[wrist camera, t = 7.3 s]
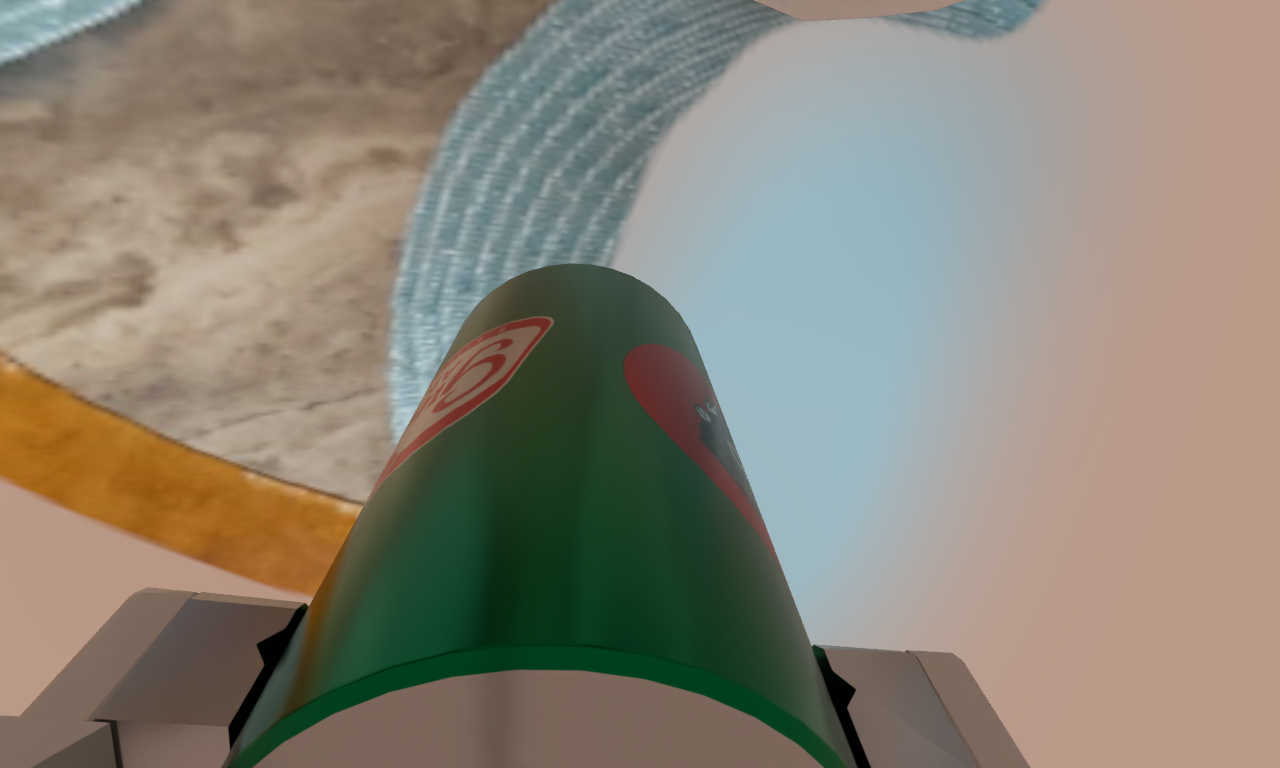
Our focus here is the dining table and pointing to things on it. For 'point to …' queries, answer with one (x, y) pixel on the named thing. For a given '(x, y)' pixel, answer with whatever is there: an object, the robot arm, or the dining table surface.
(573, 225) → the dining table surface
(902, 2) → the cup
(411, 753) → the soda can
